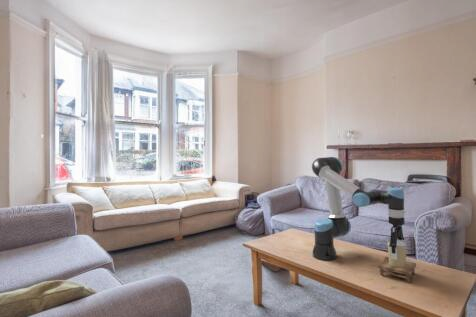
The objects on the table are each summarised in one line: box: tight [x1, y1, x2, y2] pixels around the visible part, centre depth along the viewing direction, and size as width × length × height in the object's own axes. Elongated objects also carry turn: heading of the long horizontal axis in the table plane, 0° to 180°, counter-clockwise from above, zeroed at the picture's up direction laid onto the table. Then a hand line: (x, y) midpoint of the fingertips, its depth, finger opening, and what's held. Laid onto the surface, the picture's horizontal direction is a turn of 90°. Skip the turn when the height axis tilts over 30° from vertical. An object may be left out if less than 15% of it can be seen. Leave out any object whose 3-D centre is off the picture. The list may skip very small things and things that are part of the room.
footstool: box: [378, 256, 417, 284], centre depth 146 cm, size 15×15×6 cm
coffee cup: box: [386, 239, 408, 267], centre depth 146 cm, size 9×9×12 cm
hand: (397, 255), depth 146 cm, fingers open, 13 cm apart
